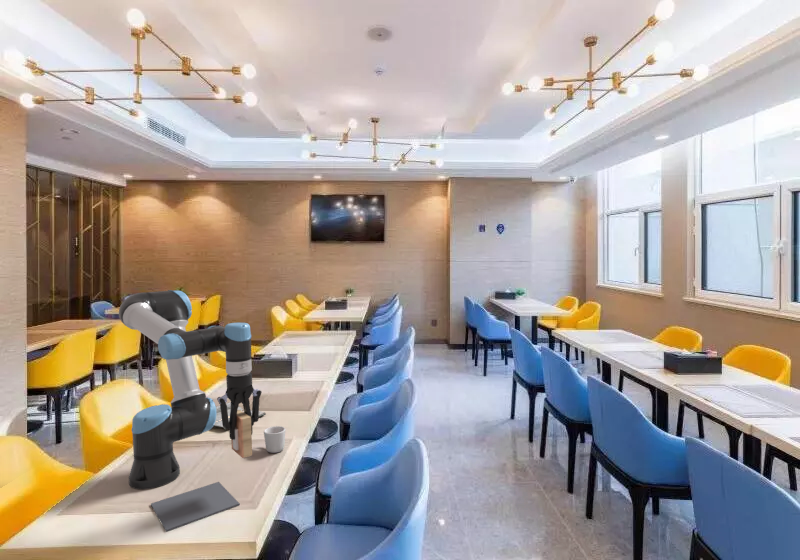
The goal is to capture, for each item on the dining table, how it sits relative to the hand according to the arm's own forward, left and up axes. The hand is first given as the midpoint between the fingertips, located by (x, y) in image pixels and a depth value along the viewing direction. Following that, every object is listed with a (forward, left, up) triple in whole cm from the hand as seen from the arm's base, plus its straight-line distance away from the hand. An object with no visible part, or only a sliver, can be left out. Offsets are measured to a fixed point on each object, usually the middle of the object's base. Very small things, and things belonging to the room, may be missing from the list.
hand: (241, 446), depth 146 cm
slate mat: (-2, -14, -14) cm, 20 cm away
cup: (-24, +21, -15) cm, 35 cm away
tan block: (0, 0, -2) cm, 2 cm away
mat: (-69, +20, -15) cm, 73 cm away
